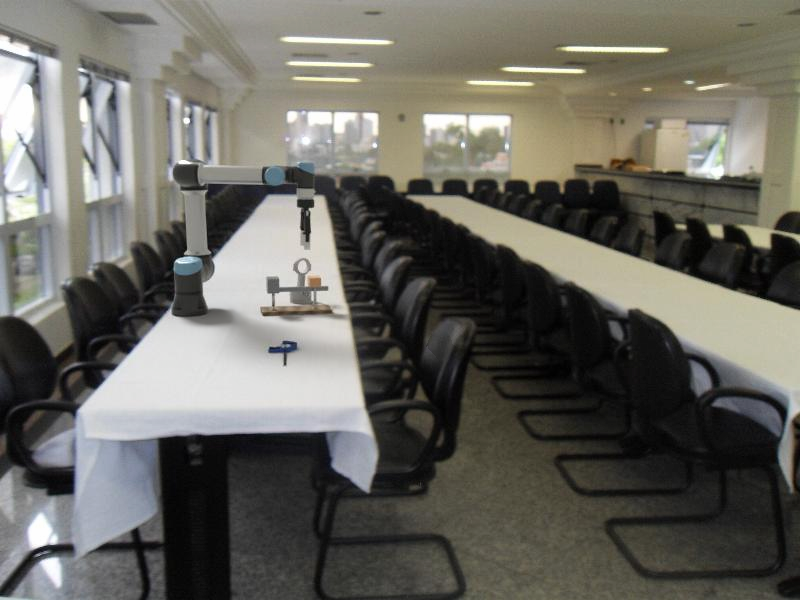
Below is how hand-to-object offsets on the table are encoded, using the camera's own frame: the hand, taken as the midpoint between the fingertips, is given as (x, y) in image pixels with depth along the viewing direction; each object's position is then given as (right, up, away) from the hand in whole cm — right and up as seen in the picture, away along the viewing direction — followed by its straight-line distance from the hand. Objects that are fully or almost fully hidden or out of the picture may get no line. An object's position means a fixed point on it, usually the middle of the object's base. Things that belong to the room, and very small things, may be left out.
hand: (305, 247), depth 347 cm
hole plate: (-4, -28, +1) cm, 28 cm away
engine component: (-5, -24, +24) cm, 34 cm away
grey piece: (-3, -26, +1) cm, 27 cm away
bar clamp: (+1, -43, -75) cm, 86 cm away
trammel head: (+4, -26, +2) cm, 26 cm away
